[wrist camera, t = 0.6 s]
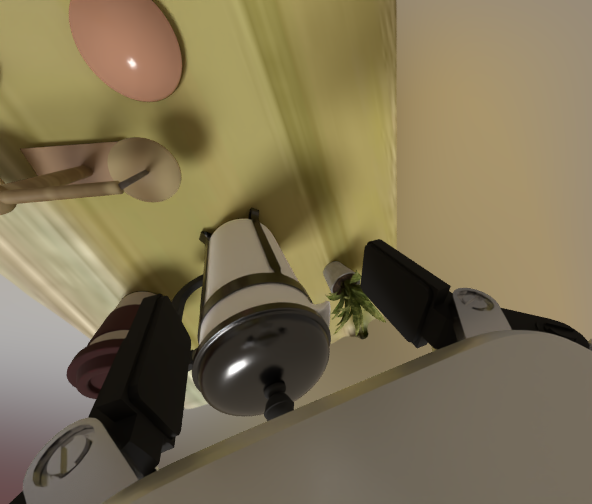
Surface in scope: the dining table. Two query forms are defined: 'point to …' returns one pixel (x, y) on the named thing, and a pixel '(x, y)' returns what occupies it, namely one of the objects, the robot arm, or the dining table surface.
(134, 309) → the coffee cup
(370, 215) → the dining table surface
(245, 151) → the dining table surface
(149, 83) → the pink disc
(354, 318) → the house plant
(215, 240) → the coffee press
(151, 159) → the balance
